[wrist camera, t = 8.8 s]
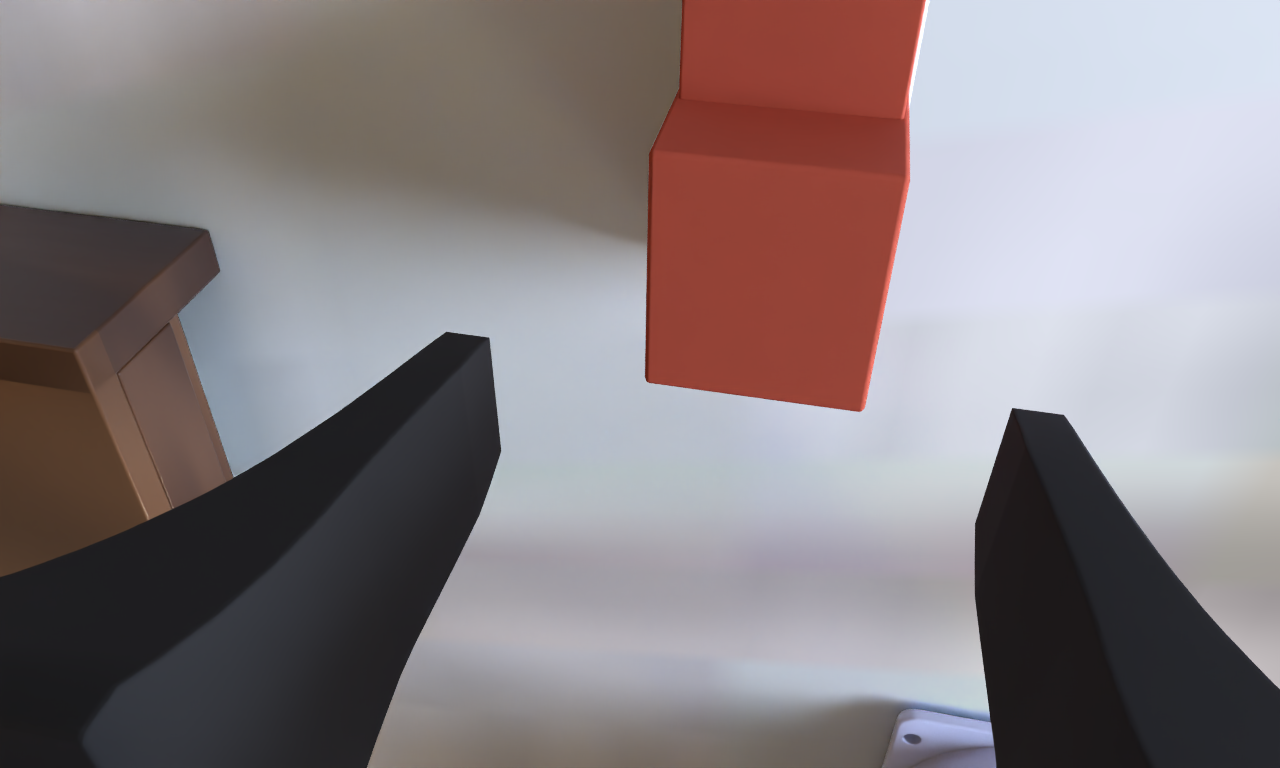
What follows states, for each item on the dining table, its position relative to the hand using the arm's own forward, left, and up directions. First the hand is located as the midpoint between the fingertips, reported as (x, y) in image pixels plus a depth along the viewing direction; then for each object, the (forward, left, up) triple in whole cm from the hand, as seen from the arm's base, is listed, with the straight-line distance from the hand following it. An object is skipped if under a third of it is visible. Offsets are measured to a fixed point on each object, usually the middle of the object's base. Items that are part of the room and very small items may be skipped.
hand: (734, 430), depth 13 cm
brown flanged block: (-10, +17, -8) cm, 22 cm away
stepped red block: (+1, 0, -8) cm, 8 cm away
